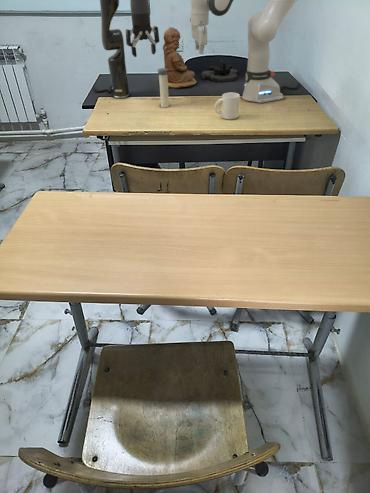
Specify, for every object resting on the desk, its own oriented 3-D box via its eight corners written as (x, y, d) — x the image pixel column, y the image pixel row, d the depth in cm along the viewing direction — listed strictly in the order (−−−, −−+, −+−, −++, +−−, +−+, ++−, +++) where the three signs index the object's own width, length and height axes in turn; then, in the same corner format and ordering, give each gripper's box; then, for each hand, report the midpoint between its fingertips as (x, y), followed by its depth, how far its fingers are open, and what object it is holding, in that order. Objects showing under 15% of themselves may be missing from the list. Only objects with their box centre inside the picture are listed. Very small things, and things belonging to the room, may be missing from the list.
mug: (215, 121, 173) (216, 99, 166) (212, 114, 179) (213, 93, 173) (240, 119, 174) (241, 97, 167) (235, 113, 180) (237, 91, 174)
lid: (165, 71, 184) (164, 67, 183) (169, 74, 181) (169, 69, 179) (156, 73, 182) (156, 69, 181) (160, 75, 179) (160, 71, 178)
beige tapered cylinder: (166, 104, 194) (164, 68, 183) (170, 106, 191) (168, 70, 180) (159, 105, 193) (157, 70, 181) (163, 107, 190) (161, 72, 178)
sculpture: (197, 88, 213) (196, 30, 194) (156, 89, 214) (152, 31, 194) (196, 75, 234) (196, 22, 215) (159, 76, 235) (156, 23, 215)
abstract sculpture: (205, 66, 215) (198, 59, 231) (204, 82, 221) (198, 74, 236) (245, 63, 218) (236, 56, 233) (243, 79, 224) (235, 71, 239)
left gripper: (152, 8, 151) (156, 51, 161) (120, 12, 146) (126, 55, 157) (159, 10, 146) (162, 55, 156) (126, 14, 141) (131, 59, 152)
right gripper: (210, 23, 169) (210, 55, 178) (201, 17, 185) (201, 47, 194) (197, 24, 168) (197, 56, 177) (189, 17, 184) (189, 47, 193)
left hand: (144, 55), depth 157 cm, fingers open, 8 cm apart
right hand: (199, 51), depth 186 cm, fingers open, 8 cm apart
